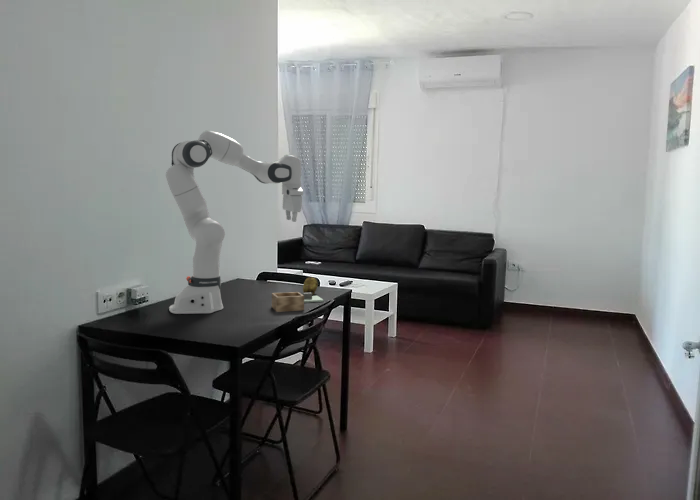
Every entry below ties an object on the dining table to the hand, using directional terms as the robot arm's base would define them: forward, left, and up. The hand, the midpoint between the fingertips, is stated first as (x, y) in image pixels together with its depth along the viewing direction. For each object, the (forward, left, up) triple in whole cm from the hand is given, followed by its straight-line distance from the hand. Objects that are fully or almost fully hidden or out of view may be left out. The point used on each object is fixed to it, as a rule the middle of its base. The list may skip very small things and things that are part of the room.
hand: (291, 220), depth 271 cm
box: (-7, -22, -37) cm, 44 cm away
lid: (+6, -8, -37) cm, 39 cm away
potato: (+12, +8, -37) cm, 40 cm away
